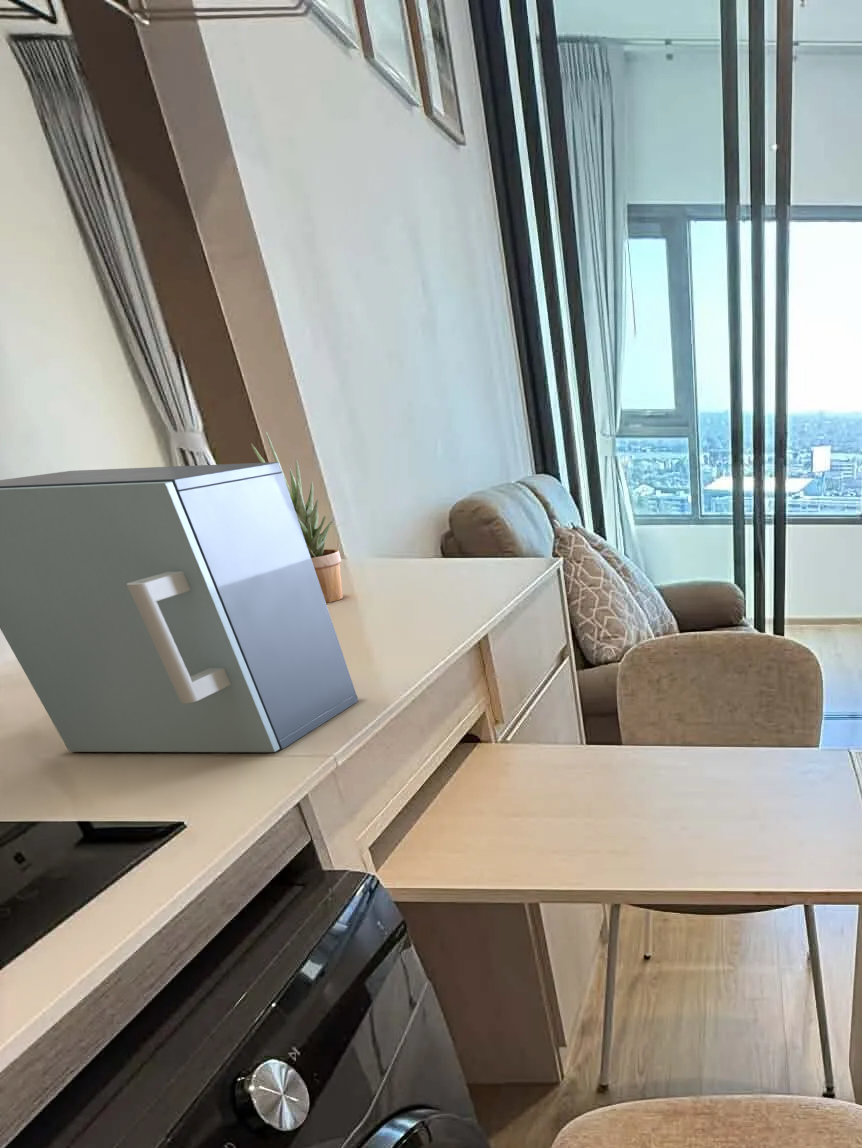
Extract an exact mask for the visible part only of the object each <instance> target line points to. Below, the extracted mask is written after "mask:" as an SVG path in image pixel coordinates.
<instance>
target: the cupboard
mask: <svg viewBox="0 0 862 1148" xmlns="http://www.w3.org/2000/svg"><path fill="white" fill-rule="evenodd" d="M279 462H280V461H279ZM279 462H275V461H272V462H271V461H270V462H269V461H267V462H265V463H261V462H248V463H247V462H245V463H223V464H222V463H221V464H201V465H199V464H198V465H197V464H196V465H175V466H173V465H172V466H155V467H154V466H153V467H152V466H151V467H150V466H149V467H129V468H128V467H127V468H106V469H86V470H85V469H83V470H81V469H80V470H66V471H59V472H52V473H44V474H36V475H28V476H21V477H13V478H12V477H11V478H6V479H5V478H4V479H0V488H21V487H46V486H71V485H96V484H121V483H146V482H172V483H173V485H174V487H175V490H176V492H177V495H178V497H179V500H180V502H181V505H182V507H183V510H184V512H185V515H186V517H187V520H188V522H189V525H190V527H191V530H192V532H193V535H194V537H195V539H196V542H197V544H198V547H199V549H200V552H201V554H202V557H203V559H204V562H205V564H206V567H207V569H208V572H209V574H210V577H211V579H212V582H213V584H214V587H215V589H216V592H217V594H218V596H219V599H220V601H221V604H222V606H223V609H224V611H225V614H226V616H227V619H228V621H229V624H230V626H231V629H232V631H233V634H234V636H235V639H236V641H237V644H238V646H239V649H240V651H241V653H242V656H243V658H244V661H245V663H246V666H247V668H248V671H249V673H250V676H251V678H252V681H253V683H254V686H255V688H256V691H257V693H258V696H259V698H260V701H261V703H262V706H263V708H264V710H265V713H266V715H267V718H268V720H269V723H270V725H271V728H272V730H273V733H274V735H275V738H276V740H277V743H278V745H279V748H280V749H279V750H284V749H285V748H287V747H289V746H290V745H291V744H293V743H294V742H296V741H298V740H299V739H301V738H303V737H304V736H306V735H308V734H309V733H311V732H312V731H314V730H315V729H317V728H319V727H320V726H322V725H324V724H325V723H326V722H328V721H330V720H331V719H333V718H334V717H336V716H338V715H339V714H340V713H342V712H344V711H345V710H347V709H349V708H350V707H352V706H353V705H356V703H358V702H359V698H358V695H357V692H356V688H355V686H354V683H353V680H352V677H351V674H350V671H349V668H348V665H347V662H346V659H345V656H344V653H343V650H342V646H341V644H340V641H339V638H338V635H337V633H336V629H335V627H334V624H333V620H332V617H331V614H330V611H329V608H328V604H327V603H326V602H325V599H324V596H323V593H322V590H321V587H320V584H319V581H318V578H317V575H316V572H315V569H314V566H313V563H312V560H311V557H310V554H309V551H308V548H307V545H306V542H305V539H304V536H303V533H302V530H301V527H300V524H299V521H298V518H297V515H296V512H295V509H294V506H293V503H292V500H291V497H290V494H289V491H288V488H287V485H286V482H285V479H284V476H283V473H281V472H282V471H281V468H282V467H281V468H280V465H281V464H280V465H279Z"/></svg>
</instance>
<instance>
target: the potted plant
mask: <svg viewBox="0 0 862 1148" xmlns="http://www.w3.org/2000/svg"><path fill="white" fill-rule="evenodd" d="M265 434H266V438H267V442H268V444H269V447H270V450H271V455H272V456H273V459H274V462H279V465H280V468H281V471H282V472H281V473H283V476H284V479H285V482H286V485H287V488H288V491H289V494H290V497H291V500H292V503H293V506H294V509H295V512H296V515H297V518H298V521H299V524H300V527H301V530H302V533H303V536H304V539H305V542H306V545H307V548H308V551H309V554H310V557H311V560H312V563H313V566H314V569H315V572H316V575H317V578H318V581H319V584H320V587H321V590H322V593H323V596H324V599H325V602H326V604H328V603H333V602H336V601H340V600H341V599H343V597H344V595H343V586H342V576H341V562H342V556H341V554H340V551H339V549H336V548H325V546H326V540H327V536H328V535H329V534H328V533H329V530H330V528H331V526H332V523H333V522H332V521H330V522H329V523H328V524H327V526H326V527H325V528H324V529H323V526H324V524H325V521H326V518H327V517H326V516H325V515H324V516H323V517H322V519H321V521H320V524H319V512H318V508H319V500H318V499H316V501H315V504H314V491H315V490H314V489H315V488H314V483H313V481H312V482H311V483H310V489H309V495H308V498H307V501H306V502H304V495H303V485H302V479H301V472H300V466H299V462H298V458H296V457H295V476H294V473H293V472H292V469H291V468H290V469H289V476H290V485H289V482H288V480H287V477H286V475H285V472H284V470H283V468H282V465H281V462H280V460H279V457H278V455H277V453H276V451H275V448H274V445H273V443H272V441H271V438H270V436H269V433H268V431H265ZM251 447H252V450H253V451H254V454H255V455H256V457H257V459H258V460H259V463H266V461H265V459H264V458H263V457H262V456H261V454H260V453H259V451H258V450H257V448H256V447H255V446H254V444H251ZM290 486H291V487H290ZM318 524H319V525H318ZM322 529H323V531H322ZM321 531H322V532H321Z"/></svg>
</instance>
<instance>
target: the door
mask: <svg viewBox="0 0 862 1148" xmlns="http://www.w3.org/2000/svg"><path fill="white" fill-rule="evenodd" d="M0 631H1V633H2V635H3V636H4V638H5V640H6V642H7V643H8V645H9V647H10V649H11V651H12V652H13V654H14V656H15V658H16V660H17V661H18V664H19V665H20V667H21V668H22V670H23V672H24V674H25V676H26V678H27V679H28V680H29V683H30V685H31V686H32V688H33V690H34V692H35V693H36V696H37V697H38V699H39V701H40V702H41V704H42V706H43V708H44V710H45V711H46V713H47V715H48V716H49V719H50V720H51V723H52V724H53V726H54V727H55V729H56V731H57V733H58V735H59V736H60V738H61V740H62V742H63V743H64V745H65V747H66V749H67V751H68V752H69V753H71V752H73V753H75V752H76V753H78V752H79V753H80V752H81V753H127V752H128V753H276V752H278V751H279V750H281V749H280V748H279V745H278V743H277V740H276V738H275V735H274V733H273V730H272V728H271V725H270V723H269V720H268V718H267V715H266V713H265V710H264V708H263V706H262V703H261V701H260V698H259V696H258V693H257V691H256V688H255V686H254V683H253V681H252V678H251V676H250V673H249V671H248V668H247V666H246V663H245V661H244V658H243V656H242V653H241V651H240V649H239V646H238V644H237V641H236V639H235V636H234V634H233V631H232V629H231V626H230V624H229V621H228V619H227V616H226V614H225V611H224V609H223V606H222V604H221V601H220V599H219V596H218V594H217V592H216V589H215V587H214V584H213V582H212V579H211V577H210V574H209V572H208V569H207V567H206V564H205V562H204V559H203V557H202V554H201V552H200V549H199V547H198V544H197V542H196V539H195V537H194V535H193V532H192V530H191V527H190V525H189V522H188V520H187V517H186V515H185V512H184V510H183V507H182V505H181V502H180V500H179V497H178V495H177V492H176V490H175V487H174V485H173V483H172V482H146V483H121V484H96V485H71V486H46V487H21V488H0Z"/></svg>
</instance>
